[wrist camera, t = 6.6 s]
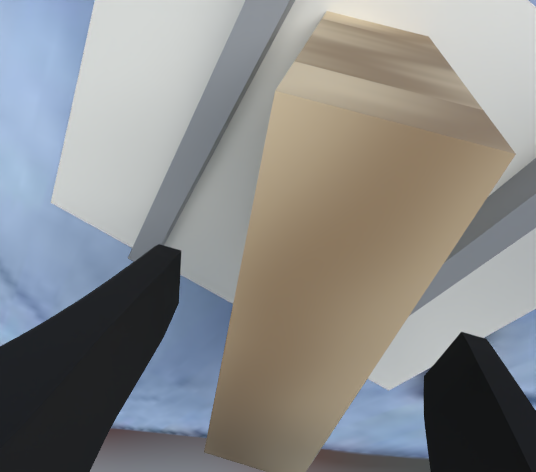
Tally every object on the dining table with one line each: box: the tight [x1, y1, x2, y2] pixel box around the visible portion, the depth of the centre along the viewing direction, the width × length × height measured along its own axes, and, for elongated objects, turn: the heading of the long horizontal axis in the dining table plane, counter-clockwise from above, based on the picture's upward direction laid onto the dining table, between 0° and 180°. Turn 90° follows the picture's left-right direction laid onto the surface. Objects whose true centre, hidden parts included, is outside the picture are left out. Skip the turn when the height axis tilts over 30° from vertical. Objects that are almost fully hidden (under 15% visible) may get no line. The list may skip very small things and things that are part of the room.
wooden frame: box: [204, 11, 516, 472], centre depth 11 cm, size 3×11×8 cm, turn 169°
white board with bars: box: [51, 0, 536, 390], centre depth 14 cm, size 20×16×3 cm
